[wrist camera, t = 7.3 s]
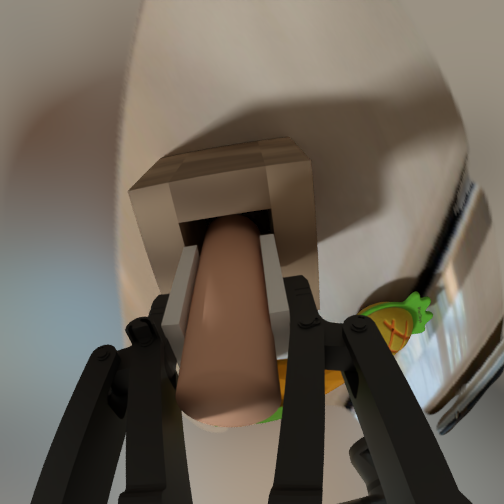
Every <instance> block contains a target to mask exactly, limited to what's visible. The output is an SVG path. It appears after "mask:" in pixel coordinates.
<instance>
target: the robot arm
mask: <svg viewBox="0 0 504 504" xmlns="http://www.w3.org/2000/svg"><path fill="white" fill-rule="evenodd" d="M260 242H261V250H262V258H263V266H264V274H265V282H266V290H267V298H268V306H269V314H270V321H271V328H272V332H273V335H274V341H275V350H276V358H277V360H279V359H286V358H288V359H287V370H286V380H285V390H284V400H283V410H282V419H281V428H280V436H279V445H278V453H277V461H276V469H275V477H274V483H273V487H272V489H271V491H270V494H269V499H268V504H322V492H323V490H322V489H323V488H322V486H323V464H324V463H323V462H324V432H325V370H335V371H341V374H342V377H343V379H344V382H345V385H346V387H347V390H348V393H349V395H350V398H351V401H352V403H353V406H354V409H355V412H356V414H357V417H358V420H359V423H360V425H361V428H362V431H363V434H364V437H363V438H361V439H360V440H358V441H357V442H356V443H355V444H353V446H352V447H351V448H350V450H349V455H350V460H351V463H352V465H353V466H354V467H355V469H356V470H357V472H358V473H359V475H360V476H361V477H362V479H363V480H364V482H365V483H366V486H367V490H368V495H369V496H366V497H363V498H359V499H355V500H351V501H348V502H343V503H339V504H472V503H471V502H470V501H469V500H468V499H467V498H466V497H465V496H464V495H463V494H462V493H461V492H460V491H459V490H458V487H457V485H456V483H455V480H454V478H453V476H452V473H451V471H450V469H449V467H448V465H447V462H446V460H445V457H444V455H443V453H442V451H441V449H440V447H439V445H438V442H437V440H436V438H435V436H434V434H433V432H432V430H431V428H430V426H429V424H428V422H427V420H426V418H425V415H424V413H423V411H422V409H421V407H420V405H419V403H418V401H417V399H416V397H415V396H414V394H413V392H412V390H411V388H410V386H409V384H408V382H407V380H406V378H405V376H404V374H403V373H402V371H401V369H400V367H399V365H398V363H397V361H396V360H395V358H394V356H393V354H392V352H391V350H390V349H389V347H388V345H387V343H386V341H385V340H384V338H383V336H382V334H381V332H380V331H379V329H378V327H377V325H376V324H375V322H374V321H373V320H372V319H371V318H370V317H368V316H365V315H353V316H350V317H348V318H347V319H346V320H345V321H344V323H343V324H342V323H331V322H328V321H326V320H324V319H322V317H321V316H320V315H319V313H318V311H317V307H316V304H315V301H314V298H313V294H312V291H311V288H310V285H309V282H308V280H307V279H306V278H305V277H304V276H303V275H297V276H290V277H282V272H281V268H280V263H279V258H278V253H277V248H276V244H275V239H274V234H268V235H261V236H260ZM199 261H200V256H199V252H198V248H197V245H194V246H188V247H184V248H183V251H182V255H181V258H180V261H179V265H178V268H177V271H176V275H175V278H174V281H173V285H172V288H171V292H170V294H162V295H158V296H157V298H156V299H155V300H154V301H153V303H152V306H151V310H150V312H149V315H148V317H139V318H136V319H134V320H133V321H131V322H130V323H129V324H128V325H127V326H126V329H125V331H126V333H127V335H128V337H129V339H130V341H131V343H132V346H130V347H128V348H125V349H121V350H118V351H117V350H116V349H115V347H114V346H112V345H103V346H100V347H98V348H97V349H95V350H94V351H93V353H92V354H91V356H90V358H89V360H88V362H87V364H86V366H85V368H84V370H83V372H82V375H81V377H80V379H79V381H78V383H77V385H76V388H75V390H74V392H73V394H72V397H71V399H70V401H69V403H68V406H67V408H66V410H65V413H64V415H63V417H62V420H61V422H60V424H59V427H58V429H57V432H56V434H55V437H54V439H53V442H52V444H51V447H50V450H49V452H48V455H47V457H46V460H45V463H44V465H43V468H42V471H41V474H40V477H39V480H38V482H37V486H36V489H35V491H34V495H33V498H32V501H31V504H107V502H108V498H109V494H110V490H111V486H112V482H113V478H114V474H115V471H116V467H117V463H118V460H119V456H120V452H121V449H122V445H123V441H124V438H125V435H126V490H125V491H124V492H122V493H121V494H120V496H119V499H118V504H193V502H192V495H191V488H190V482H189V474H188V466H187V459H186V450H185V441H184V432H183V423H182V412H181V409H180V407H179V406H178V404H177V402H176V388H177V382H178V374H177V371H176V364H177V363H178V365H179V367H180V363H181V357H182V351H183V346H184V340H185V334H186V328H187V323H188V317H189V312H190V307H191V301H192V296H193V291H194V286H195V281H196V276H197V271H198V266H199Z"/></svg>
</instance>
